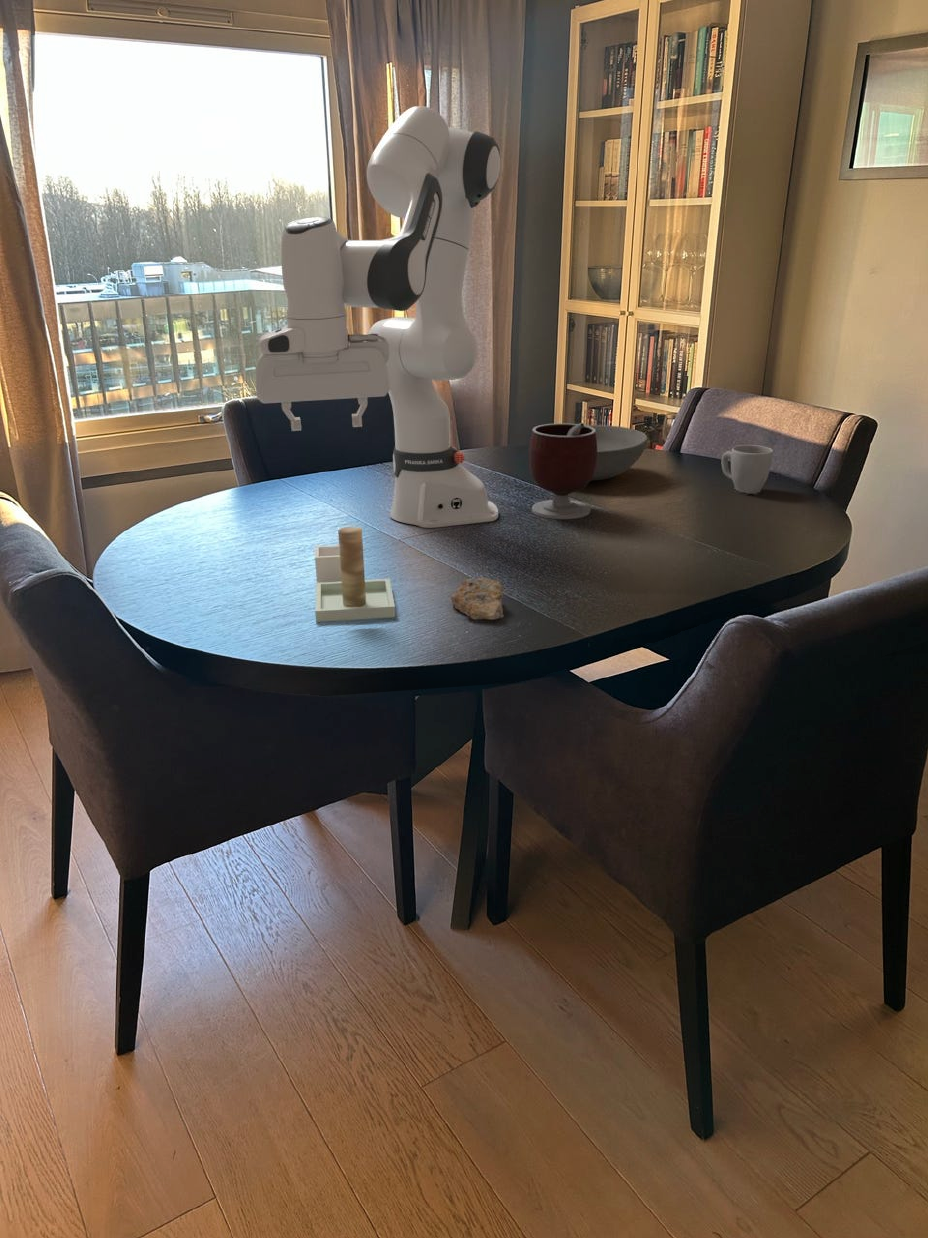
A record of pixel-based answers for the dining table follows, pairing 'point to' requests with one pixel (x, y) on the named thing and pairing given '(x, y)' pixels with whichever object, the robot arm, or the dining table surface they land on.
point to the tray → (334, 610)
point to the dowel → (352, 566)
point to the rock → (479, 598)
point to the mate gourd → (562, 466)
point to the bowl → (616, 450)
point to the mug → (748, 466)
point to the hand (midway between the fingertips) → (327, 427)
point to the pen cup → (328, 563)
